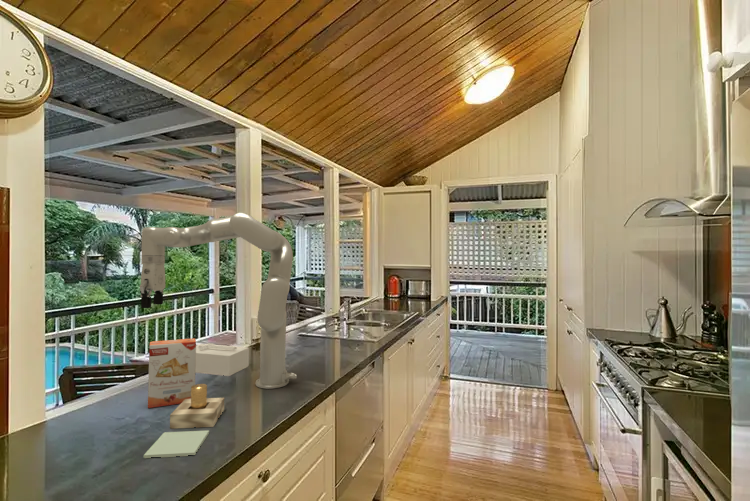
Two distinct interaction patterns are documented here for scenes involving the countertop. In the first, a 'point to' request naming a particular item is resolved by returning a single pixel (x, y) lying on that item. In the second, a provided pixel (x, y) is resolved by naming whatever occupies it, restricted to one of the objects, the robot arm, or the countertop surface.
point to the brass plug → (199, 396)
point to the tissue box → (220, 359)
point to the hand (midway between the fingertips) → (152, 306)
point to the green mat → (177, 444)
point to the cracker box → (171, 371)
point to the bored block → (197, 414)
